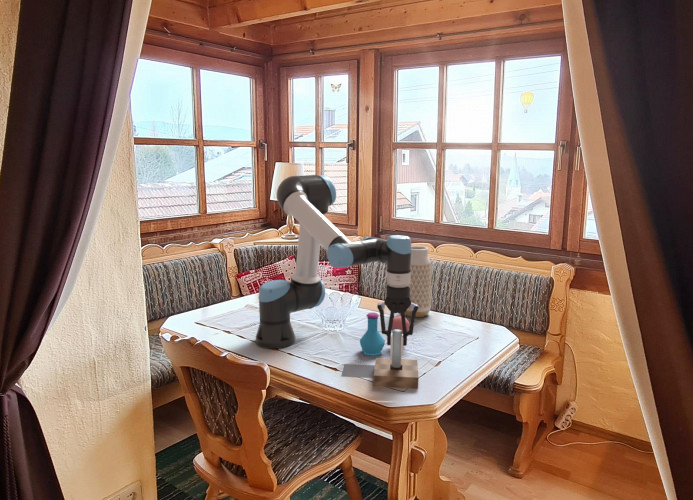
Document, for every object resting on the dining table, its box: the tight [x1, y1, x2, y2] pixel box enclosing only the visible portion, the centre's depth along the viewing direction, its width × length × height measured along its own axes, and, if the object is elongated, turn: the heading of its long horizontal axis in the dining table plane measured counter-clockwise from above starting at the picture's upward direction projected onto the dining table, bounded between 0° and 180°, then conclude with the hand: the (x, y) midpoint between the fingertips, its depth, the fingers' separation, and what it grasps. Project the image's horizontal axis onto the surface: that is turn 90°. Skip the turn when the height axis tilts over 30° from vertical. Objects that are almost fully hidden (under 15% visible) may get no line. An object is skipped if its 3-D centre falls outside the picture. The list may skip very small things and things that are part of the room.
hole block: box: [373, 357, 419, 389], centre depth 174 cm, size 14×14×4 cm
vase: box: [405, 245, 432, 319], centre depth 236 cm, size 14×14×31 cm
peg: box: [391, 329, 402, 368], centre depth 172 cm, size 3×3×12 cm
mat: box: [340, 363, 375, 379], centre depth 179 cm, size 12×10×1 cm
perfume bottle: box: [359, 312, 386, 356], centre depth 194 cm, size 9×9×15 cm
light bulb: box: [391, 315, 410, 334], centre depth 200 cm, size 7×7×12 cm
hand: (396, 354), depth 172 cm, fingers closed on peg, 3 cm apart
